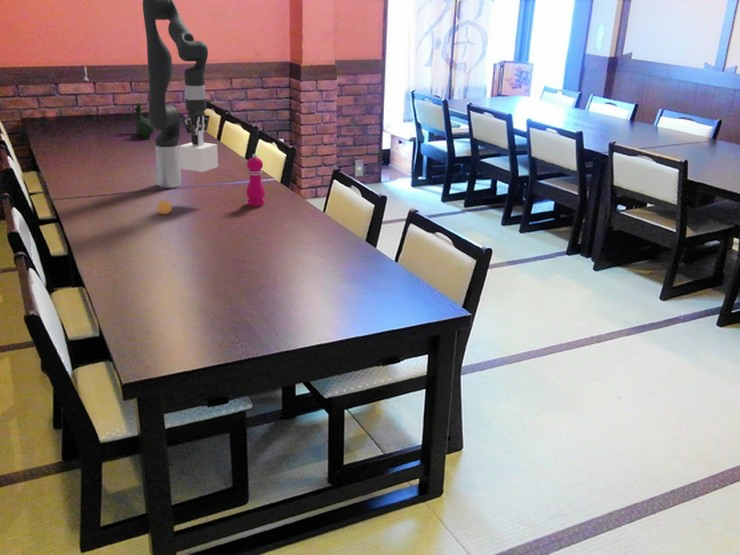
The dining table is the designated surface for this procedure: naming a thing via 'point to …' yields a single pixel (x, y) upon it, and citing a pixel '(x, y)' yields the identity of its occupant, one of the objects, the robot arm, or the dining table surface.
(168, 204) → the ball
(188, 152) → the white cube bottle
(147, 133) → the toy figurine
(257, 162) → the pepper mill
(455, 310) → the dining table surface
